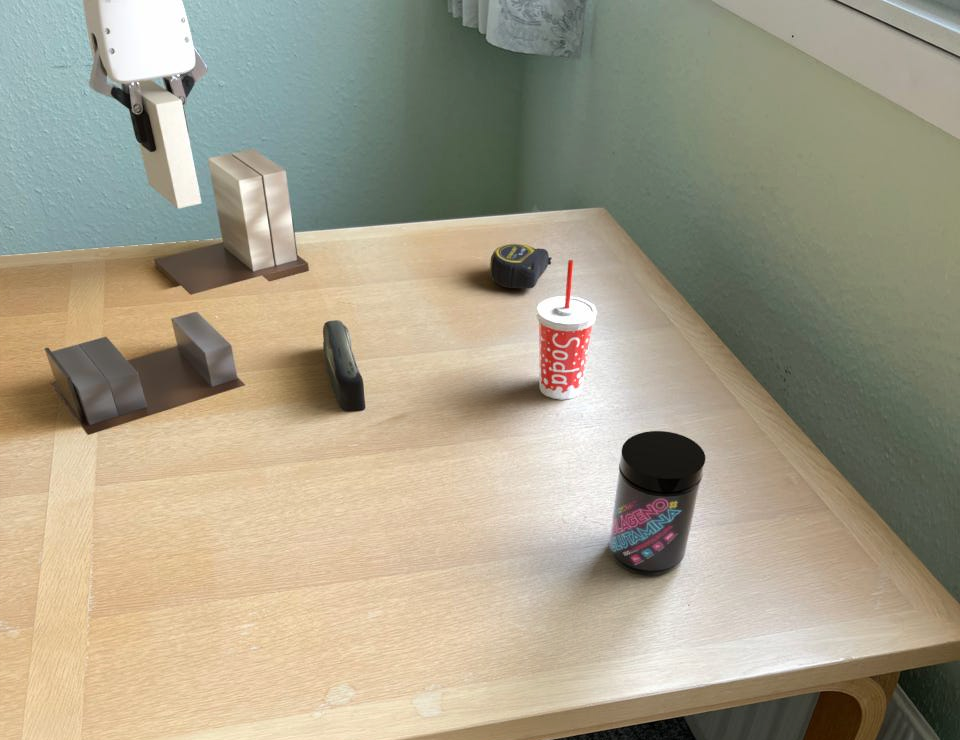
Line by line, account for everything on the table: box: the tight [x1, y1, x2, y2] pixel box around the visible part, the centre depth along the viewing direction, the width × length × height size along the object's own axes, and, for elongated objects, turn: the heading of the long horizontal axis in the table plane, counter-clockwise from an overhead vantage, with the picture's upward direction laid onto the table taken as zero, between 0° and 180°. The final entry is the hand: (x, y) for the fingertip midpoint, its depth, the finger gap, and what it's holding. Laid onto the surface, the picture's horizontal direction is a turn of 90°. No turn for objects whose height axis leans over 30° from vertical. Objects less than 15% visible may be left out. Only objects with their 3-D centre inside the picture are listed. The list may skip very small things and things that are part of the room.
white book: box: [138, 79, 202, 210], centre depth 110 cm, size 3×9×11 cm, turn 35°
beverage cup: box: [536, 259, 598, 401], centre depth 98 cm, size 6×6×14 cm
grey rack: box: [44, 311, 246, 436], centre depth 100 cm, size 17×12×6 cm
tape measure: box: [489, 243, 553, 289], centre depth 120 cm, size 7×7×4 cm
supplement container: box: [608, 430, 706, 576], centre depth 80 cm, size 7×7×10 cm
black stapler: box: [322, 319, 366, 413], centre depth 102 cm, size 5×3×15 cm
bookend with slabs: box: [153, 148, 310, 296], centre depth 119 cm, size 16×12×12 cm
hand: (164, 143), depth 110 cm, fingers closed on white book, 3 cm apart
